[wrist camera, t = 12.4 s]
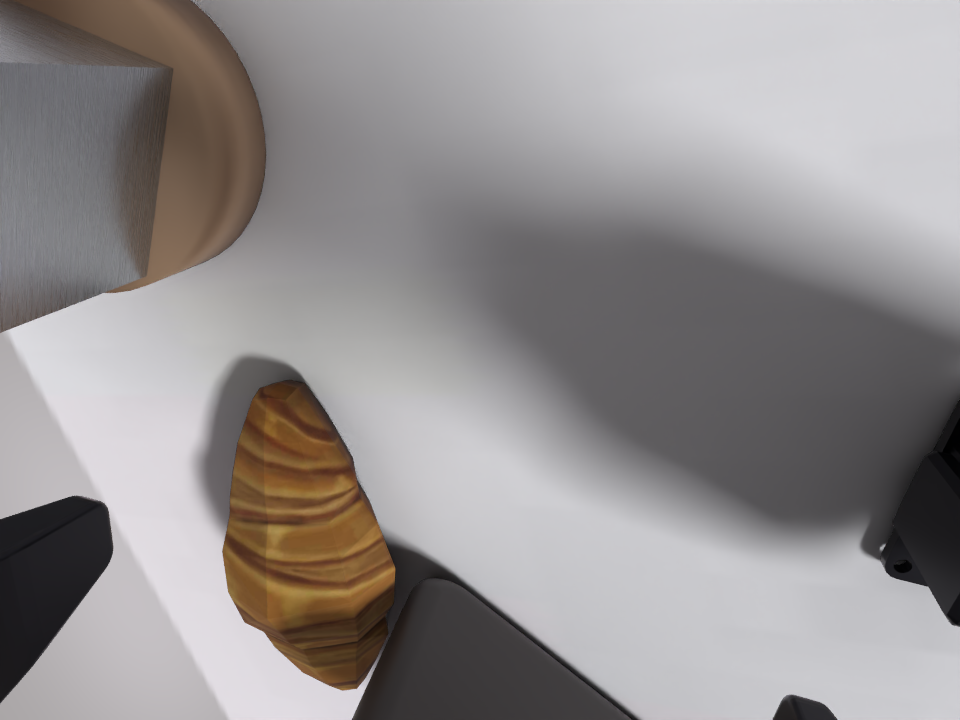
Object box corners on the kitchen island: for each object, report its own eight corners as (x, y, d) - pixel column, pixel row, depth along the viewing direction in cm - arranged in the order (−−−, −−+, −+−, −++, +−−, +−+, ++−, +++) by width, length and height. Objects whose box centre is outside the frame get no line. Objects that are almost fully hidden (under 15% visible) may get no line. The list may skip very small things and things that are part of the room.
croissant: (439, 663, 27) (398, 777, 23) (295, 648, 29) (230, 751, 24) (385, 367, 22) (320, 438, 18) (216, 369, 24) (117, 435, 20)
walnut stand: (265, -11, 18) (200, -27, 16) (266, 291, 22) (213, 319, 19) (-7, -48, 20) (-110, -69, 17) (37, 241, 23) (-41, 262, 21)
